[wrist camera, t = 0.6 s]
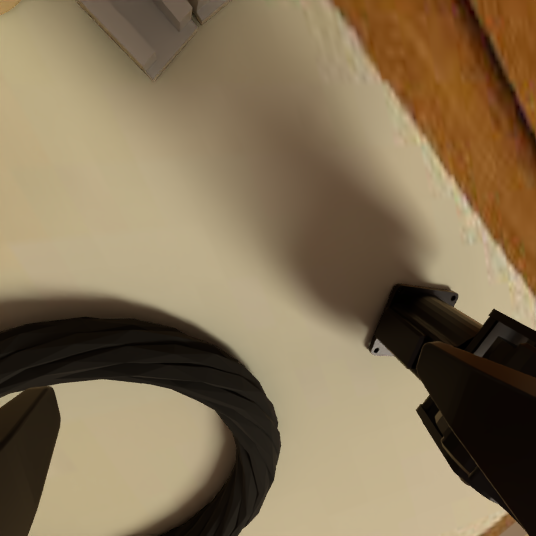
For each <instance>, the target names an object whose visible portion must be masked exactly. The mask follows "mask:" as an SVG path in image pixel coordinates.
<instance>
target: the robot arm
mask: <svg viewBox="0 0 536 536" xmlns="http://www.w3.org/2000/svg"><path fill="white" fill-rule="evenodd" d="M400 289H401V290H400ZM399 290H400V291H399ZM457 299H458V294H457V293H455V292H454V291H450V290H443V289H435V288H428V287H421V286H414V285H407V284H397V285H395V286H394V288H393V290H392V292H391V295H390V297H389V299H388V302H387V304H386V307H385V309H384V312H383V314H382V317H381V319H380V322H379V324H378V326H377V329H376V331H375V334H374V336H373V339H372V341H371V344H370V346H369V351H370V352H371V354H372V355H378V356H395V357H396V358H397V359H398V360H399V361H400V362H401V363H402V364H403V365H404V366H405V367H406V368H407V369H409V370H410V371H411V372H412V373H413V374H414V375H415V376H416V377H417V378H418V379H419V380H421V381H422V383H423V384H424V386H425V388H426V389H427V391H428V392H429V394H430V395H429V396H428V397H427V399H426V400H425V401H424V403H423V404H420V405H419V407H418V408H417V409H416V411H417V413H418V415H419V416H420V418H421V420H422V422H423V424H424V425H425V427H426V428H427V430H428V432H429V433H430V435H431V436H432V438H433V440H434V441H435V443H436V444H437V446H438V448H439V449H440V451H441V452H442V454H443V456H444V457H445V459H446V460H447V462H448V464H449V465H450V467H451V468H452V470H453V471H454V472H455V473H456V474H457V475H458V476H459V477H460V479H461V480H462V481H463V482H464V483H465V484H466V485H468V486H471V487H472V488H474V489H475V490H476V491H477V492H479V493H480V494H481V495H483V496H484V497H486V498H487V499H489V500H491V501H493V502H495V503H497V504H499V505H500V506H501V507H502V508H503V509H505V510H506V511H507V512H508V513H509V514H510V515H511V516H512V517H513V518H514V519H515V520H516V521H517V522H518V523H519V524H520V525H521V526H522V527H523V529H525V531H526V532H527V534H528V535H529V536H536V331H535V330H533V329H531V328H529V327H527V326H525V325H523V324H521V323H519V322H518V321H516V320H514V319H512V318H510V317H508V316H506V315H504V314H503V313H501V312H499V311H497V310H495V309H493V310H492V312H491V313H490V314H489V316H490V317H489V318H488V319H487V321H486V322H485V323H484V325H482V324H480V323H479V322H477V321H475V320H474V319H472V318H471V317H469V316H467V315H466V314H464V313H462V312H461V311H459V310H457V309H456V308H454V305H455V303H456V301H457ZM60 422H61V418H60V412H59V408H58V404H57V400H56V396H55V392H54V390H53V388H52V387H50V386H43V387H34V388H28V389H26V390H25V391H23V392H22V393H20V394H19V395H17V396H16V397H15V398H13V399H12V400H10V401H9V402H8V403H6V404H5V405H3V406H2V407H1V408H0V536H28V533H29V531H30V528H31V525H32V523H33V520H34V517H35V514H36V511H37V508H38V505H39V502H40V498H41V495H42V491H43V488H44V484H45V480H46V476H47V473H48V469H49V465H50V462H51V458H52V454H53V451H54V447H55V443H56V440H57V436H58V432H59V428H60Z"/></svg>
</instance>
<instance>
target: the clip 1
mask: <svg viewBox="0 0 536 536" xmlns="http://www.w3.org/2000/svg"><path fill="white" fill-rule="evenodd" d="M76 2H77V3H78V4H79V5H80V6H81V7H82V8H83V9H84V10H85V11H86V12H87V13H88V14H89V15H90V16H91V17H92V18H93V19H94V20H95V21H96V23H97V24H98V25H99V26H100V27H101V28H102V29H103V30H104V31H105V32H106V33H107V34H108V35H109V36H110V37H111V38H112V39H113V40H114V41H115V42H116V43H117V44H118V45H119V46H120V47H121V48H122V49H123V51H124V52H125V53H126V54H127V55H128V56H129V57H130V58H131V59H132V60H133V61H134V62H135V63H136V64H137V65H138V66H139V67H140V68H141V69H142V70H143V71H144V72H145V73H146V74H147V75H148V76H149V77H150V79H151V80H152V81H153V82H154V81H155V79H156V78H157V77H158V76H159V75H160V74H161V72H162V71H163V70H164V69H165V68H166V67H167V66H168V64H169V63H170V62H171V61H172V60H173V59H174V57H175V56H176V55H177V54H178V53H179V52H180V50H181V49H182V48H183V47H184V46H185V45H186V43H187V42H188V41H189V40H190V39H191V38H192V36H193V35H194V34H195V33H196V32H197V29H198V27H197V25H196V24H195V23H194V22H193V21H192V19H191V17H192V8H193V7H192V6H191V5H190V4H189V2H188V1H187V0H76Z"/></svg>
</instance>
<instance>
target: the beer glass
mask: <svg viewBox="0 0 536 536" xmlns="http://www.w3.org/2000/svg"><path fill="white" fill-rule="evenodd" d="M20 1H21V0H0V15H2V14H4V13H6V12H8V11H9V10H11V9H12V8H14V7H15V6H16V5H17V4H18V3H19V2H20Z"/></svg>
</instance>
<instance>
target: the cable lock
mask: <svg viewBox="0 0 536 536" xmlns="http://www.w3.org/2000/svg"><path fill="white" fill-rule="evenodd" d="M98 379H107V380H117V381H126V382H135V383H144V384H151V385H156V386H160V387H165V388H169V389H172V390H174V391H177V392H179V393H181V394H184V395H186V396H188V397H190V398H193V399H195V400H197V401H199V402H201V403H203V404H205V405H207V406H208V407H210V408H212V409H214V410H215V411H216V412H217V413H218V415H219V416H220V417H221V419H222V420H223V421H224V422H225V424H226V425H227V426H228V428H229V429H230V430H231V431H232V433H233V436H234V439H235V443H236V447H237V450H236V463H235V466H234V468H233V471H232V473H231V475H230V477H229V479H228V480H227V482H226V483H225V485H224V487H223V488H222V490H221V491H220V492H219V494H218V495H217V496H216V498H215V499H214V500H213V501H212V502H211V503H210V504H208V505H207V506H206V507H204V508H203V509H202V510H201V511H200V512H199V513H198V514H196V515H195V516H194V517H193V518H192V519H191V520H189V521H188V522H187V523H186V524H184V525H182V526H180V527H178V528H175V529H173V530H170V531H169V532H167V533H165V534H163V535H161V536H238V535H239V533H240V532H241V531H242V529H243V528H244V527H246V526H247V525H248V524H249V523H250V522H251V521H252V520H253V519H254V518H255V516H256V515H257V514H258V513H259V511H260V509H261V506H262V504H263V502H264V500H265V497H266V495H267V493H268V491H269V489H270V487H271V485H272V483H273V481H274V477H275V470H276V465H277V462H278V458H279V453H280V448H281V441H280V433H279V431H278V429H277V427H278V421H277V417H276V414H275V410H274V407H273V404H272V403H271V402H270V400H269V399H268V398H267V396H266V394H265V392H264V390H263V388H262V386H261V384H260V382H259V381H258V380H257V379H256V378H255V377H254V376H253V375H252V374H251V373H250V372H249V371H248V370H247V369H246V368H245V367H244V365H242V364H239V362H238V361H237V360H236V359H234V358H233V357H231V356H230V355H228V354H227V353H225V352H224V351H222V350H220V349H219V348H217V347H216V346H214V345H212V344H209V343H206V342H204V341H201V340H198V339H196V338H193V337H190V336H188V335H186V334H184V333H182V332H181V331H179V330H177V329H175V328H171V327H166V326H162V325H158V324H153V323H149V322H145V321H140V320H136V319H96V318H89V317H81V318H73V319H65V320H57V321H49V322H40V323H32V324H26V325H23V326H19V327H16V328H12V329H9V330H5V331H2V332H0V398H1V397H3V396H5V395H7V394H10V393H14V392H19V391H24V390H26V389H28V388H34V387H43V386H49V385H54V384H59V383H68V382H78V381H88V380H98Z"/></svg>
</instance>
